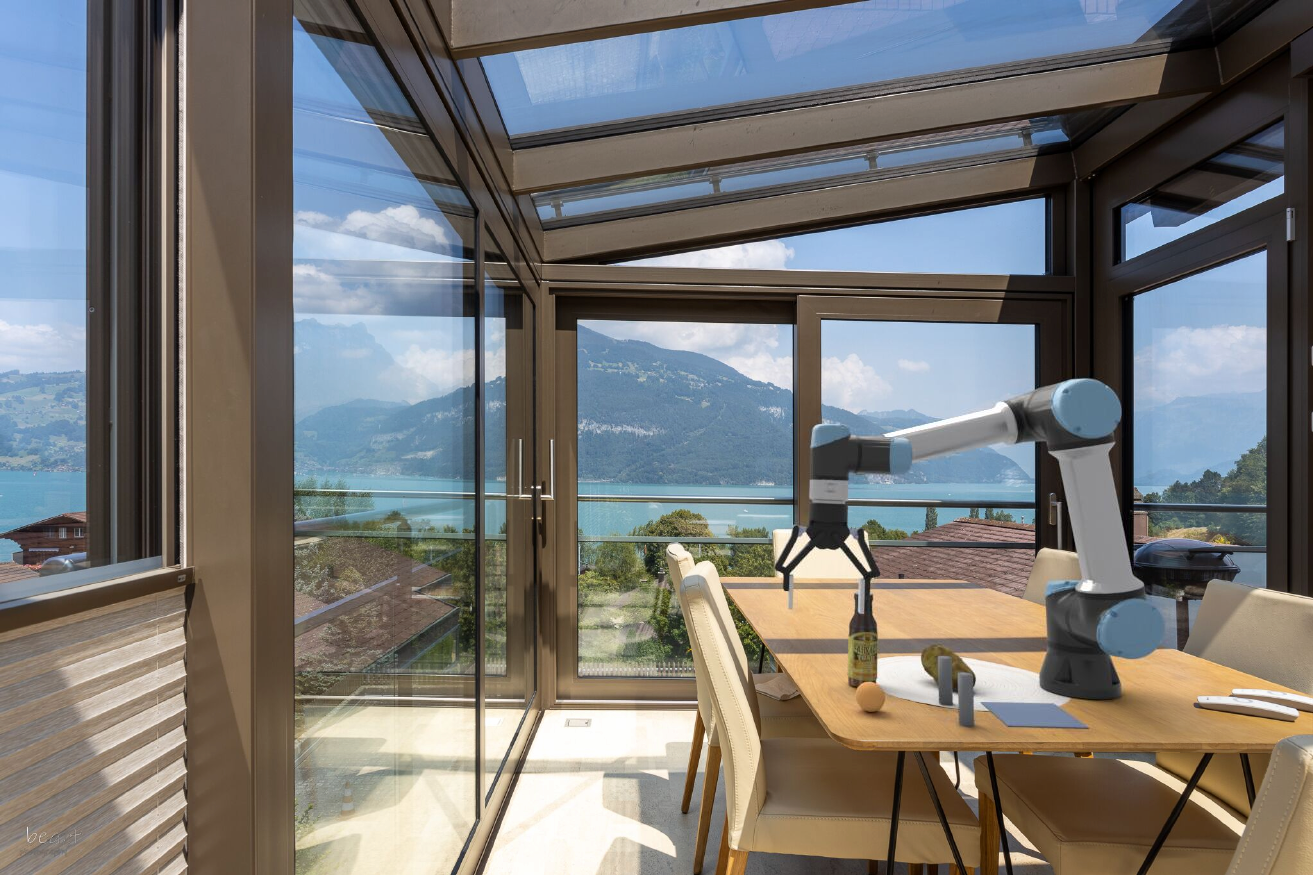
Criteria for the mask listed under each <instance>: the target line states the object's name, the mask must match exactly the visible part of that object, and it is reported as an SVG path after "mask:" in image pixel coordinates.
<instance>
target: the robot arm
mask: <svg viewBox="0 0 1313 875" xmlns="http://www.w3.org/2000/svg"><path fill="white" fill-rule="evenodd" d="M1121 418H1122V405H1121V402H1120V399H1119V397H1118V395H1117V394H1116V392H1114V390H1113V389H1112V388H1111V387H1110V386H1108V385H1106V384H1105V383H1103V382H1101V381H1100V380H1097V379H1094V378H1073V379H1067V380H1065V381H1062V382H1058V383H1055V384H1051V385H1045V386H1041V387H1039V388H1036V389H1034V390H1031V391H1029V392H1026V393H1023V394H1021V395H1018V396H1015V397H1014V398H1013V397H1012V398H1009V399H1006V400H1003V401H1002V400H1001V401H999V402H996V403H995V404H994V406H993V407H992V408H989V409H985V410H981V411H975V412H972V413H968V414H963V415H959V416H955V417H951V418H947V419H943V420H938V421H934V422H931V423H925V424H922V425H921V424H920V425H918V426H914V427H913V426H912V427H909V428H906V429H900V430H896V431H892V432H888V433H883V434H881V435H872V436H871V435H863V436H862V435H861V436H860V435H854V434H852V432H851V427H850V425H847V424H839V423H820V424H816V425H814V427H813V428H812V430H811V440H810V441H811V442H810V446H809V447H810V448H809V449H810V468H809V469H810V470H809V475H810V476H809V497H808V498H809V500H812V501H811V502H810V503H809V504H808V524H807V526H802V525H798V524H793V525H792V528H791V536H790V537H789V539H788V541H787V542H786V543H785V546H784V547H783V550H782V551H781V552H780V553H781V554H780V555H779V557H778V559H777V560H776V563H775V564H774V567H773V568H774V570H775V571H776V572H778V573H781V574H782V577H783V578H782V588H783V591H784V592H788V598H787V599H788V600H787V601H788V602H787V607H788V610H794V609H793V607H794V606H793V605H794V602H793V601H794V580H795V579H794V577H795V576H794V574H792V572H793V571H794V570H795V569H796V567H798V565H799V564H800V563H802V561H803V560H804V559H805V558H806V557H807V556H808V555H809V554H810V553H811V551H813V550H814V548H816V549H819V550H827V549H828V550H832V551H836V550H839V549H840V550H841V551H842V552H843V553H844V554H845V556H846V557H847V558H848V559H849V561H850V562H851V563H852V564H853V566H854V567H855V568H856V570H858V573H860V574H861V576H862V577H858V592H859V593H858V612H859V613H860V614H864V596H869V595H870V593H871V581H872V579H874V578H879V577H880V576H881V571H880V569H879V567H878V565H877V563H876V561H875V558H874V557H873V555H872V552H871V549H870V548H869V545H868V544H867V542H866V538H865V529H863V528H862V527H857V528H849V525H848V523H849V522H848V521H849V518H848V517H849V516H848V514H849V505H847V504H846V502H848V501H849V480H850V479H849V478H850V473H852V474H854V475H856V476H864V475H885V476H886V475H890V476H904V475H906V474H908V473H909V472H910V470H911V469H912V464H915V463H919V462H923V461H924V462H925V461H928V460H932V459H936V458H937V459H938V458H941V457H945V456H949V455H955V454H957V453H963V452H967V451H972V450H975V449H979V448H983V447H987V446H992V445H997V444H1000V443H1003V444H1005V445H1007V446H1012V445H1013V446H1014V445H1018V444H1022V443H1031V442H1046V446H1047V451H1048V454H1050V455H1051V456H1053V457H1054V458H1056V459H1057V461H1058V462H1059V463H1058V464H1059V468H1060V473H1061V474H1060V475H1061V479H1062V484H1063V488H1064V493H1065V494H1064V495H1065V499H1066V502H1067V503H1066V504H1067V507H1068V509H1067V510H1068V513H1069V518H1070V523H1071V529H1072V533H1073V539H1074V543H1075V550H1076V555H1077V559H1078V563H1079V564H1078V566H1079V568H1080V574H1081V579H1080V580H1077V579H1076V580H1073V579H1072V580H1069V579H1068V580H1063V579H1062V580H1050V581H1048V582H1047V583H1046V585H1045V594H1044V599H1045V613H1046V615H1045V618H1046V621H1045V622H1046V640H1047V644H1046V645H1047V648H1046V650H1047V651H1046V653H1045V656H1044V660H1043V662H1042V665H1041V668H1040V671H1039V676H1038V677H1039V678H1038V679H1039V686H1040V687H1041V688H1043V689H1044V690H1046V691H1048V692H1052V693H1054V694H1057V695H1061V696H1065V697H1066V696H1067V697H1070V698H1071V697H1072V698H1077V699H1084V700H1085V699H1086V700H1113V699H1117V698H1119V697H1121V696H1122V694H1123V693H1122V692H1123V691H1122V682H1121V679H1120V677H1119V675H1118V672H1117V669H1116V666H1115V664H1114V662H1113V659H1112V657H1116V658H1121V659H1125V660H1139V659H1142V658H1145V657H1148V656H1149V655H1151V654H1153V653H1154V652H1155V651H1156V649H1157V648H1158V647H1159V646H1160V645H1161V643H1162V642H1163V640H1164V637H1165V632H1166V622H1165V618H1164V616H1163V614H1162V612H1161V610H1160V609H1159V608H1158V607H1156V606H1155V605H1154V604H1153V603H1151V602H1150V601H1148V598H1147V593H1146V589H1145V588H1146V587H1145V584H1144V582H1143V581H1142V580H1140V579H1139V578H1137V577H1136V576H1135V575H1134V574H1133V571H1132V566H1131V560H1130V555H1129V550H1128V545H1127V540H1126V535H1125V530H1124V526H1123V520H1122V516H1121V512H1120V504H1119V501H1118V496H1117V490H1116V487H1115V482H1114V481H1115V480H1114V476H1113V470H1112V466H1111V461H1110V456H1109V455H1110V454H1109V452H1110V451H1111V449H1112V448H1113V447H1114V445H1115V444H1116V440H1115V439H1116V438H1115V435H1114V430H1116V428H1117V426H1118V423H1120V422H1121ZM804 533H806V535H807V537H808V538H809V541H808V542H807V543H806V544H805V545H804V546H803V548H802V549H801V550H800V551H798V553H797V554H796V555H795V556H794V558H792V559H791V560H790V561H789V563H788V564H787V565H786V566H784V564H785V562H786V561H787V559H788V558H789V555H790V553H791V551H792V549H793V548H794V546H795V544H796V543H797V540H798V538H801V537H802V536H803V534H804ZM850 536H852V538H853V539H854V540H855V541H857V544H858V546H859V548H860V551H861V552H862V554H863V557H864V558H865V560H866V563H867V565H868V567H869V569H870V571H869V570H867V568H865V566H864V565H863V564H862V562H861V561H860V560H859V559H858V557H857V556H856V555H855V554H854V552H853V551H852V550H851V549H850V547H849V546H848V545H847V543H845V542H846V540H847V539H849V537H850Z"/></svg>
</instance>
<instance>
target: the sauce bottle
mask: <svg viewBox="0 0 1313 875" xmlns="http://www.w3.org/2000/svg"><path fill="white" fill-rule="evenodd" d="M858 593H859V591H856V592H854V593H853V599H854V614H853V615H852V618H851V619H850V620H849V624H848V625H849V626H848V640H847V641H848V645H847V680H848V684H849V685H850V686H852V687H856V688H858V687H859V686H860V685H861V684H862V683H865V682H873V683H876V684H877V680H878V659H879V658H878V656H879V655H878V654H879V653H878V652H879V651H878V650H879V649H878V648H879V647H878V644H879V643H878V641H879V635H878V634H879V633H878V625H877V624H878V623H877V620H876V619H875V617H874V615H873V613H874V612H873V601H874V594H873V593H871V592H870V595H869V596H864V614H860V613H859V612H858Z"/></svg>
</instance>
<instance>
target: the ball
mask: <svg viewBox="0 0 1313 875" xmlns="http://www.w3.org/2000/svg"><path fill="white" fill-rule="evenodd" d="M855 701H856V703H857V705H858V706H859V707H860V708H861V709H862V710H864V711H865V712H870V713H875V712H877V711H880V710H881V709H882V708H883V707H884V705H885V702H886V696H885V692H884V690H883V688H882V687H881V686H880V685H879V684H877V682H876V683H873V682H865V683H862V684H861V685H860V686H859V687H856V691H855Z"/></svg>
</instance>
